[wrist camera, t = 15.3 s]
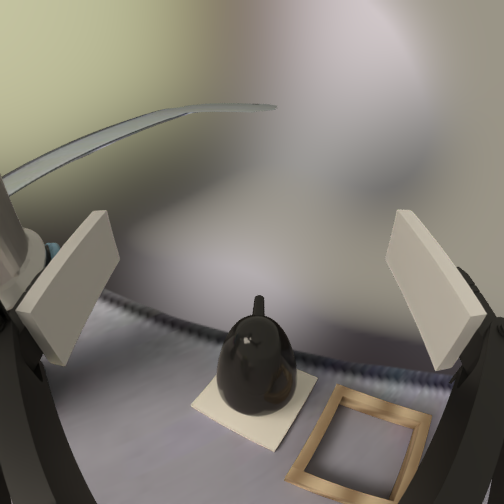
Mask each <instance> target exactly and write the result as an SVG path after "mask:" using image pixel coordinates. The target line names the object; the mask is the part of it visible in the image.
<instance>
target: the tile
mask: <svg viewBox="0 0 504 504" xmlns="http://www.w3.org/2000/svg"><path fill="white" fill-rule="evenodd" d="M216 377H217V375H216V376H215V377H214V379H213V380H212V381H211V382H210V383H209V384H208V386H207V387H206V388H205V389H204V390H203V391H202V393H201V394H200V395H199V396H198V397H197V398H196V400H195V401H194V402H193V403H192V404H191V407H192V408H194V409H196V410H197V411H199V412H201V413H202V414H204V415H206V416H207V417H209V418H211V419H212V420H214V421H216V422H217V423H219V424H221V425H223V426H224V427H226V428H228V429H230V430H232V431H234V432H235V433H237V434H239V435H241V436H243V437H245V438H247V439H249V440H251V441H252V442H254V443H256V444H258V445H260V446H262V447H265V448H267V449H269V450H271V451H273V452H275V451H276V449H277V448H278V446H279V444H280V443H281V441H282V440H283V438H284V436H285V435H286V433H287V432H288V430H289V428H290V427H291V425H292V423H293V422H294V420H295V418H296V417H297V415H298V413H299V412H300V410H301V408H302V406H303V405H304V403H305V401H306V400H307V398H308V396H309V394H310V392H311V391H312V389H313V387H314V385H315V383H316V381H317V379H318V378H317V377H315V376H312V375H310V374H308V373H305V372H303V371H300V370H298V369H297V387H296V391H295V394H294V396H293V398H292V399H291V401H290V402H289V403H288V404H287V405H286V406H285V407H283V408H282V409H281V410H279V411H277V412H275V413H273V414H270V415H267V416H262V417H252V416H247V415H244V414H241V413H239V412H237V411H235V410H233V409H232V408H230V407H229V406H228V405H227V404H226V403H225V402H224V401H223V400H222V398H221V396H220V394H219V391H218V388H217V379H216Z"/></svg>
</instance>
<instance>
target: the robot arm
mask: <svg viewBox="0 0 504 504" xmlns="http://www.w3.org/2000/svg"><path fill="white" fill-rule="evenodd" d="M119 260H120V257H119V254H118V250H117V247H116V244H115V240H114V237H113V233H112V229H111V225H110V222H109V218H108V214H107V210H104V211H93V212H92V213H91V214H90V215H89V216H88V218H87V219H86V220H85V221H84V222H83V223H82V224H81V225H80V227H79V228H78V229H77V230H76V231H75V232H74V233H73V235H72V236H71V237H70V238H69V239H68V241H67V242H66V243H65V244H64V245H63V247H62V248H61V249H60V247H59V245H58V244H56V243H47V244H46V245H44V243H43V241H42V239H41V238H40V236H39V235H38V234H37V233H35V232H34V231H32V230H30V229H27V228H22V226H21V223H20V221H19V219H18V217H17V215H16V213H15V210H14V208H13V205H12V203H11V200H10V198H9V196H8V193H7V190H6V188H5V185H4V183H3V180H2V177H1V174H0V504H11V499H12V502H13V504H97V503H96V501H95V499H94V497H93V496H92V494H91V492H90V490H89V488H88V486H87V484H86V482H85V480H84V478H83V476H82V473H81V471H80V469H79V467H78V465H77V463H76V460H75V458H74V456H73V453H72V451H71V448H70V446H69V444H68V441H67V438H66V436H65V433H64V431H63V428H62V425H61V422H60V419H59V416H58V414H57V411H56V407H55V404H54V401H53V398H52V395H51V391H50V388H49V384H48V380H47V377H46V373H45V369H44V366H43V364H42V362H41V361H40V359H41V357H42V355H43V354H44V355H45V357H46V358H47V359H48V361H49V362H50V363H52V364H56V365H60V366H66V364H67V362H68V359H69V357H70V355H71V353H72V350H73V348H74V346H75V344H76V342H77V340H78V338H79V336H80V334H81V331H82V329H83V327H84V325H85V323H86V321H87V319H88V317H89V315H90V313H91V311H92V309H93V308H94V306H95V304H96V302H97V300H98V298H99V296H100V294H101V292H102V291H103V289H104V287H105V285H106V283H107V281H108V280H109V278H110V276H111V274H112V272H113V271H114V269H115V267H116V265H117V264H118V262H119ZM385 261H386V263H387V265H388V267H389V269H390V271H391V272H392V274H393V277H394V279H395V281H396V282H397V284H398V287H399V288H400V290H401V292H402V295H403V297H404V299H405V301H406V303H407V305H408V307H409V310H410V312H411V314H412V316H413V318H414V321H415V323H416V325H417V327H418V330H419V332H420V334H421V337H422V339H423V341H424V344H425V346H426V348H427V351H428V353H429V356H430V358H431V361H432V363H433V366H434V369H435V371H438V370H443V369H447V368H452V367H453V365H454V364H455V362H456V361H457V360H458V358H460V360H461V362H462V366H461V367H460V368H459V370H458V371H457V372H456V374H455V375H454V376H453V377H452V379H451V380H450V382H449V383H452V382H453V381H454V380H455V382H454V385H453V388H452V391H451V394H450V397H449V400H448V402H447V405H446V408H445V410H444V413H443V415H442V418H441V420H440V423H439V425H438V427H437V430H436V432H435V434H434V436H433V439H432V441H431V443H430V445H429V447H428V449H427V451H426V454H425V456H424V458H423V460H422V462H421V463H420V465H419V467H418V469H417V471H416V473H415V475H414V477H413V478H412V480H411V482H410V484H409V486H408V487H407V489H406V491H405V492H404V494H403V496H402V497H401V499H400V501H399V502H398V504H482V502H483V500H484V498H485V495H486V493H487V490H488V487H489V485H490V482H491V479H492V482H491V488H490V494H489V499H488V503H487V504H504V318H502V317H496V316H495V314H494V312H493V311H492V309H491V308H490V306H489V304H488V303H487V301H486V300H485V298H484V297H483V295H482V294H481V293H480V292H479V289H478V288H477V286H475V283H474V282H473V281H472V279H471V278H470V276H469V275H468V274H467V273H466V272H465V271H463V270H462V269H461V268H459V267H455V265H454V264H453V262H452V261H451V260H450V258H449V257H448V256H447V254H446V253H445V251H444V250H443V249H442V248H441V246H440V245H439V244H438V242H437V241H436V240H435V238H434V237H433V236H432V235H431V233H430V232H429V231H428V230H427V229H426V227H425V226H424V225H423V223H422V222H421V221H420V220H419V219H418V217H417V216H416V215H415V214H414V213H413V212H412V210H399V209H397V212H396V217H395V221H394V225H393V230H392V234H391V238H390V242H389V245H388V250H387V253H386V257H385ZM10 497H11V498H10Z"/></svg>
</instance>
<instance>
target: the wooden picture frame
mask: <svg viewBox="0 0 504 504" xmlns="http://www.w3.org/2000/svg"><path fill="white" fill-rule="evenodd" d="M339 404H340V405H343V406H346V407H348V408H351V409H354V410H357V411H359V412H362V413H365V414H368V415H371V416H374V417H377V418H380V419H383V420H386V421H389V422H392V423H395V424H398V425H401V426H405V427H408V428H411V429H414V430H413V433H412V436H411V440H410V443H409V446H408V449H407V452H406V455H405V458H404V461H403V464H402V467H401V469H400V472H399V475H398V477H397V480H396V482H395V485H394V487H393V490H392V492H391V495H390V497H389V499H388V500H386V499H382V498H379V497H375V496H372V495H368V494H365V493H362V492H358V491H355V490H352V489H349V488H346V487H343V486H340V485H338V484H335V483H332V482H329V481H326V480H324V479H321V478H319V477H316V476H313V475H311V474H309V473H306V472H304V469H305V468H306V466H307V464H308V463H309V461H310V459H311V457H312V456H313V454H314V452H315V450H316V448H317V446H318V445H319V443H320V441H321V439H322V437H323V435H324V433H325V431H326V429H327V427H328V426H329V424H330V422H331V420H332V418H333V416H334V413H335V411H336V409H337V407H338V405H339ZM431 419H432V415H429V414H425V413H422V412H418V411H415V410H412V409H409V408H405V407H402V406H399V405H396V404H393V403H390V402H387V401H384V400H381V399H378V398H375V397H372V396H369V395H366V394H364V393H361V392H358V391H355V390H353V389H350V388H347V387H344V386H342V385H339V384H336V387H335V389H334V391H333V393H332V395H331V397H330V399H329V401H328V403H327V405H326V407H325V409H324V410H323V412H322V414H321V416H320V418H319V420H318V422H317V424H316V426H315V427H314V429H313V431H312V433H311V435H310V436H309V438H308V440H307V442H306V443H305V445H304V447H303V449H302V450H301V452H300V454H299V455H298V457H297V459H296V460H295V462H294V464H293V465H292V467H291V469H290V470H289V472H288V473H287V475H286V477H285V479H284V481H286V482H289V483H291V484H293V485H296V486H298V487H300V488H303V489H305V490H308V491H310V492H313V493H315V494H318V495H321V496H323V497H326V498H329V499H332V500H335V501H338V502H341V503H344V504H398V502H399V501H400V499H401V497H402V496H403V494H404V492H405V491H406V489H407V487H408V486H409V484H410V482H411V480H412V478H413V477H414V475H415V473H416V471H417V468H418V465H419V462H420V459H421V456H422V452H423V449H424V446H425V442H426V438H427V435H428V431H429V427H430V423H431Z"/></svg>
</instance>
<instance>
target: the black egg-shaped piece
mask: <svg viewBox="0 0 504 504" xmlns="http://www.w3.org/2000/svg"><path fill="white" fill-rule="evenodd" d="M216 379H217V388H218V391H219V394H220V396H221V398H222V400H223V401H224V402H225V403H226V404H227V405H228V406H229V407H230V408H232V409H233V410H235V411H237V412H239V413H241V414H244V415H247V416H252V417H262V416H267V415H270V414H273V413H275V412H277V411H279V410H281V409H282V408H283V407H285V406H286V405H287V404H288V403H289V402H290V401H291V399H292V398H293V396H294V394H295V391H296V387H297V367H296V361H295V357H294V353H293V350H292V347H291V344H290V342H289V339H288V337H287V335H286V334H285V332H284V330H283V329H282V328H281V327H280V325H278V323H277V322H275V321H274V320H273V319H271V318H269V317H267V316H265V314H264V297H263V296H261V295H258V296H256V297H255V300H254V307H253V314H252V315H250V316H247V317H244V318H242V319H241V320H239V321H238V322H237V323H236V324H235V325H234V326H233V327H232V328H231V330H230V331H229V333H228V335H227V336H226V338H225V341H224V343H223V346H222V349H221V352H220V356H219V360H218V366H217V377H216Z"/></svg>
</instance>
